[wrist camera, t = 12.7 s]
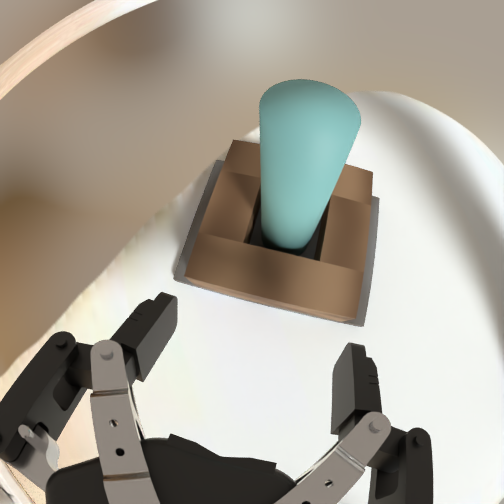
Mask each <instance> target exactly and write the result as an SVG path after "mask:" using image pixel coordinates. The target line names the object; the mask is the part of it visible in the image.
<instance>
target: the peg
mask: <svg viewBox="0 0 504 504" xmlns="http://www.w3.org/2000/svg"><path fill="white" fill-rule="evenodd" d="M259 109H260V110H259V111H260V112H259V114H260V165H261V237H262V242H263V245H264V247H265V248H267V249H271V250H275V251H279V252H283V253H288V254H292V255H296V256H299V255H300V254H302V253H303V252H304V251H305V249H306V248H307V246H308V244H309V242H310V240H311V238H312V235H313V233H314V231H315V229H316V227H317V225H318V223H319V221H320V218H321V216H322V214H323V212H324V210H325V207H326V205H327V203H328V201H329V199H330V196H331V194H332V192H333V190H334V187H335V185H336V183H337V181H338V178H339V176H340V174H341V171H342V169H343V167H344V164H345V162H346V160H347V157H348V155H349V153H350V150H351V148H352V145H353V143H354V141H355V138H356V136H357V133H358V131H359V128H360V125H361V116H360V113H359V110H358V108H357V106H356V105H355V103H354V102H353V101H352V100H351V99H350V98H349V97H348V96H347V95H346V94H344V93H343V92H341V91H340V90H338V89H337V88H335V87H333V86H330V85H328V84H325V83H322V82H318V81H313V80H304V79H298V80H288V81H284V82H281V83H278V84H276V85H274V86H272V87H271V88H269V89H268V90H267V91H266V92H265V93H264V94H263V96H262V98H261V100H260V105H259Z"/></svg>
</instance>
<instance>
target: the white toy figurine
mask: <svg viewBox="0 0 504 504" xmlns="http://www.w3.org/2000/svg"><path fill="white" fill-rule="evenodd" d="M0 504H35V503H34V502H33V501H32V499H31V498H30V497H29V496H28V494H27V493H26V492H25V490H24V489H23V488H22V486H21V485H20V484H19V482H18V481H17V479H16V478H15V477H14V475H13V474H12V472H11V471H10V469H9V468H8V466H7V465H6V463H5V462H4V461H3V460H2V459H0Z"/></svg>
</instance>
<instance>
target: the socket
mask: <svg viewBox="0 0 504 504" xmlns="http://www.w3.org/2000/svg"><path fill="white" fill-rule="evenodd" d="M372 179H373V172H371V171H368V170H364V169H361V168H358V167H354V166H351V165H347V164H344V167H343V169H342V171H341V174H340V176H339V178H338V181H337V183H336V185H335V187H334V190H333V192H332V194H331V196H330V199H329V201H328V203H327V205H326V207H325V210H324V212H323V214H322V216H321V218H320V221H319V223H318V225H317V227H316V229H315V231H314V233H313V235H312V238H311V240H310V242H309V244H308V246H307V248H306V249H305V251H304V252H303V253H302V254H300V255H299V256H296V255H292V254H288V253H283V252H279V251H275V250H271V249H267V248H265V247H264V245H263V242H262V237H261V165H260V144H256V143H250V142H244V141H238V140H233V142H232V144H231V147H230V149H229V151H228V154H227V157H226V159H225V161H221V160H216V163H215V165H214V168H213V170H212V172H211V175H210V178H209V180H208V183H207V185H206V188H205V190H204V193H203V195H202V198H201V201H200V203H199V206H198V209H197V211H196V214H195V217H194V220H193V222H192V225H191V228H190V231H189V234H188V236H187V239H186V242H185V245H184V248H183V251H182V254H181V257H180V260H179V263H178V266H177V269H176V272H175V275H174V278H173V279H174V280H175V281H177V282H181V283H184V284H188V285H191V286H195V287H198V288H202V289H205V290H209V291H212V292H216V293H220V294H223V295H227V296H231V297H234V298H238V299H242V300H246V301H250V302H254V303H258V304H262V305H266V306H270V307H274V308H278V309H282V310H286V311H290V312H294V313H299V314H303V315H308V316H312V317H316V318H321V319H326V320H330V321H335V322H340V323H344V324H349V325H354V326H359V327H362V326H364V322H365V317H366V312H367V306H368V300H369V294H370V288H371V281H372V274H373V266H374V258H375V249H376V239H377V227H378V213H379V198H378V197H374V196H372Z"/></svg>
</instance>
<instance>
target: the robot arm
mask: <svg viewBox="0 0 504 504" xmlns="http://www.w3.org/2000/svg"><path fill="white" fill-rule="evenodd" d="M176 326H177V297H176V296H173V295H170V294H167V293H164V292H161V293H160V294H159V295H158V296H157V297H156V298H155V300H154V301H153V300H150V299H148V300H146V301H144V302H142V303H140V304H139V305H138V306H137V307H136V309H135V310H134V311H133V312H132V313H131V315H130V316H129V318H127V319H126V321H125V322H124V323H123V324H122V325H121V327H120V328H119V329H118V330H117V331H116V333H115V334H114V335H113V336H112V337H111V339H110V340H102V341H99V342H97V343H96V344H95V345H89V344H83V343H78V342H76V340H75V338H74V336H73V335H72V334H71V333H69V332H65V331H61V332H57V333H55V334H53V335H52V336H51V337H50V338H49V339H48V341H47V342H46V343H45V344H44V345H43V347H42V348H41V349H40V350H39V351H38V353H37V354H36V355H35V356H34V358H33V359H32V360H31V361H30V363H29V364H28V365H27V366H26V368H25V369H24V370H23V372H22V373H21V374H20V376H19V377H18V378H17V380H16V381H15V382H14V384H13V385H12V386H11V388H10V389H9V391H8V392H7V393H6V395H5V396H4V398H3V399H2V401H1V402H0V459H2V460H3V461H4V462H6V463H7V464H9V465H10V466H12V467H14V468H15V469H17V470H18V471H19V472H21V473H22V474H23V475H24V476H25V477H27V478H28V479H29V480H30V481H32V482H33V483H34V484H35V485H37V486H38V487H39V488H41V489H42V490H43V491H45V495H46V504H337V503H338V502H339V501H340V500H341V498H342V497H343V496H344V495H345V494H346V493H347V492H348V491H349V490H350V489H351V488H352V487H353V485H354V484H355V483H356V482H357V481H358V480H359V478H360V477H361V476H362V475H363V473H364V472H365V469H364V468H365V466H369V467H372V469H371V481H370V491H369V500H368V504H433V462H432V447H431V439H430V436H429V434H428V433H427V432H426V431H425V430H424V429H422V428H413V429H411V430H410V431H409V432H405V431H402V430H400V429H397V428H394V427H392V426H391V424H390V421H389V419H388V418H387V417H386V416H385V415H383V414H382V407H381V397H380V389H379V386H378V384H379V381H378V378H377V377H378V374H377V367H376V365H375V363H374V362H373V360H372V358H369V357H366V351H365V346H364V345H359V344H354V343H348V344H347V345H346V347H345V348H344V350H343V352H342V354H341V355H340V357H339V359H338V360H337V362H336V364H335V366H334V370H333V378H332V417H331V434H335V435H339V437H338V441H337V442H336V443H335V444H334V445H333V446H332V447H331V448H330V449H329V450H328V451H327V452H326V453H325V454H324V455H323V456H322V457H321V458H320V459H319V460H318V461H317V462H316V463H315V464H313V465H312V466H311V467H310V468H309V469H308V470H307V471H305V472H304V473H303V474H302V475H300V476H299V477H298V478H297V479H295V480H293V479H291V478H290V477H289V476H288V475H286V474H285V473H283V472H282V471H280V470H278V469H275V468H276V463H274V462H269V461H264V460H259V459H254V458H238V457H221V456H219V455H217V454H215V453H213V452H211V451H210V450H208V449H206V448H204V447H203V446H201V445H199V444H198V443H196V442H193V441H190V440H187V439H184V438H182V437H179V436H176V435H174V434H170V436H169V438H149V439H146V438H145V434H144V431H143V428H142V425H141V422H140V418H139V414H138V410H137V406H136V401H135V397H134V392H133V387H132V384H133V383H134V381H135V380H136V379H137V380H139V381H141V382H144V380H145V379H146V377H147V375H148V374H149V372H150V370H151V369H152V367H153V365H154V364H155V362H156V361H157V359H158V357H159V356H160V354H161V352H162V351H163V349H164V348H165V346H166V344H167V343H168V341H169V340H170V338H171V336H172V335H173V333H174V331H175V329H176ZM87 389H92V390H93V393H91V395H90V402H91V411H92V418H93V425H94V432H95V438H96V443H97V448H98V453H99V457H96V458H93V459H90V460H87V461H84V462H81V463H78V464H75V465H71V466H68V467H65V468H61V469H58V463H57V462H58V459H59V453H60V452H59V446H58V444H57V442H56V441H57V439H58V437H59V436H60V434H61V432H62V430H63V429H64V427H65V425H66V423H67V422H68V420H69V418H70V417H71V415H72V413H73V412H74V410H75V408H76V407H77V405H78V403H79V402H80V400H81V398H82V397H83V395H84V393H85V392H86V390H87Z"/></svg>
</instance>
